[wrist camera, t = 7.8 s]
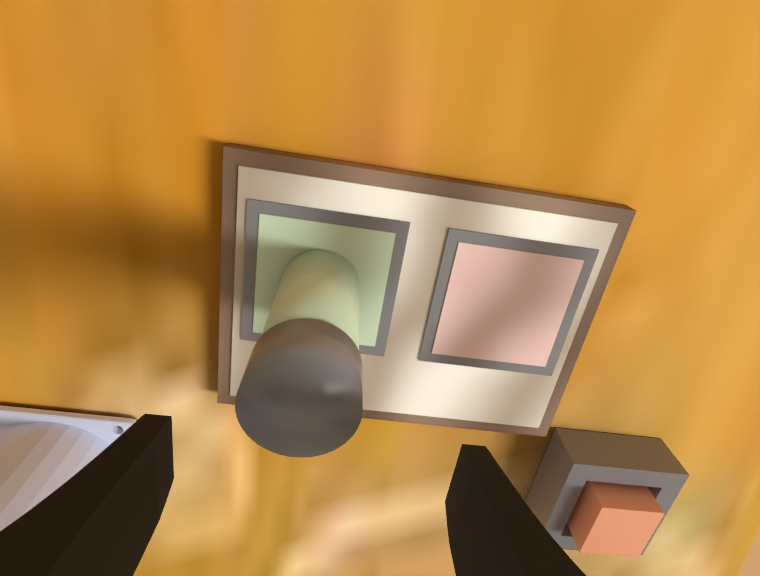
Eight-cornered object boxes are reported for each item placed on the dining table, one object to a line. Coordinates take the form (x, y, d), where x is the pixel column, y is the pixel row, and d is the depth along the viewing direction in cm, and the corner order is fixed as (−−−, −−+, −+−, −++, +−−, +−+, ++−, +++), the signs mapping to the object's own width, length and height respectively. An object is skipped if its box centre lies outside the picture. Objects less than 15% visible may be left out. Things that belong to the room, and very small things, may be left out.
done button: (564, 518, 26) (579, 552, 24) (584, 474, 25) (602, 507, 23) (620, 522, 26) (639, 557, 25) (643, 480, 25) (665, 513, 23)
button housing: (522, 507, 28) (536, 546, 26) (555, 427, 26) (574, 463, 23) (619, 515, 29) (641, 555, 26) (661, 438, 26) (689, 475, 24)
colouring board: (221, 392, 24) (215, 406, 23) (228, 142, 19) (221, 147, 18) (540, 426, 25) (547, 440, 24) (626, 205, 20) (639, 212, 19)
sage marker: (277, 315, 21) (233, 452, 14) (282, 241, 19) (236, 348, 12) (355, 324, 21) (353, 462, 14) (366, 252, 20) (371, 363, 13)
